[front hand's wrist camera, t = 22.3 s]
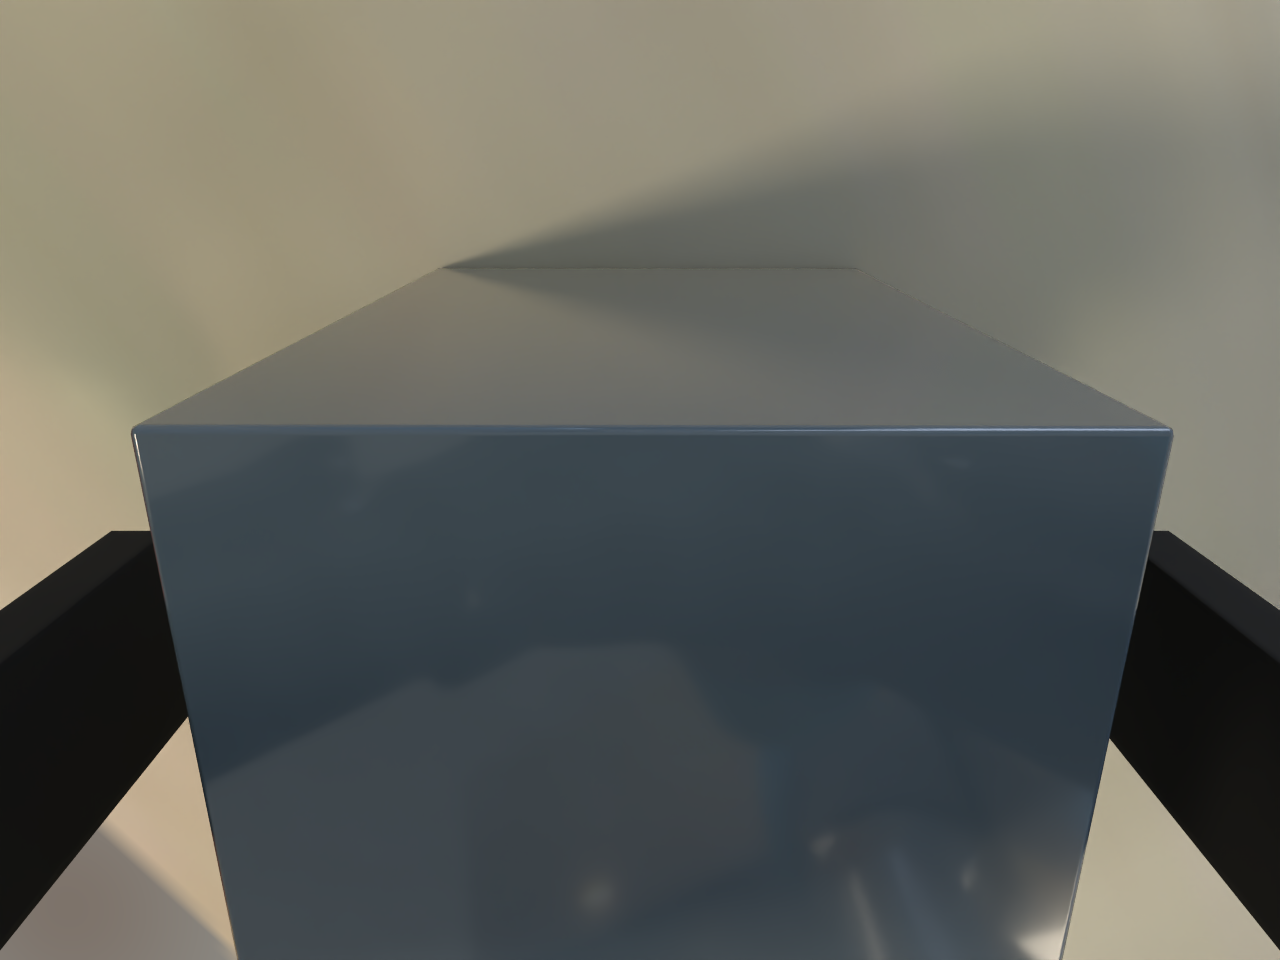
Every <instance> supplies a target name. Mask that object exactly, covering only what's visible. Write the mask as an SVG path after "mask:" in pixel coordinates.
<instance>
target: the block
mask: <svg viewBox="0 0 1280 960" xmlns="http://www.w3.org/2000/svg"><path fill="white" fill-rule="evenodd" d="M131 437H132V442H133V447H134V452H135V457H136V462H137V467H138V472H139V477H140V482H141V487H142V491H143V496H144V501H145V506H146V511H147V516H148V521H149V526H150V531H151V536H152V541H153V546H154V551H155V556H156V560H157V565H158V570H159V575H160V580H161V585H162V590H163V595H164V600H165V605H166V610H167V615H168V620H169V625H170V629H171V634H172V639H173V644H174V649H175V654H176V659H177V664H178V669H179V674H180V679H181V684H182V689H183V693H184V698H185V703H186V708H187V713H188V718H189V723H190V728H191V733H192V738H193V743H194V748H195V753H196V758H197V762H198V767H199V772H200V777H201V782H202V787H203V792H204V797H205V802H206V807H207V812H208V817H209V822H210V826H211V831H212V836H213V841H214V846H215V851H216V856H217V861H218V866H219V871H220V876H221V881H222V886H223V891H224V895H225V900H226V905H227V910H228V915H229V920H230V925H231V930H232V935H233V940H234V945H235V950H236V955H237V960H1062V958H1063V953H1064V949H1065V944H1066V939H1067V935H1068V930H1069V925H1070V920H1071V916H1072V911H1073V906H1074V902H1075V897H1076V892H1077V888H1078V883H1079V878H1080V874H1081V869H1082V864H1083V859H1084V855H1085V850H1086V845H1087V841H1088V836H1089V831H1090V827H1091V822H1092V817H1093V812H1094V808H1095V803H1096V798H1097V794H1098V789H1099V784H1100V780H1101V775H1102V770H1103V765H1104V761H1105V756H1106V751H1107V747H1108V742H1109V737H1110V733H1111V728H1112V723H1113V719H1114V714H1115V709H1116V704H1117V700H1118V695H1119V690H1120V686H1121V681H1122V676H1123V672H1124V667H1125V662H1126V657H1127V653H1128V648H1129V643H1130V639H1131V634H1132V629H1133V625H1134V620H1135V615H1136V610H1137V606H1138V601H1139V596H1140V592H1141V587H1142V582H1143V578H1144V573H1145V568H1146V563H1147V559H1148V554H1149V549H1150V545H1151V540H1152V535H1153V531H1154V526H1155V521H1156V517H1157V512H1158V507H1159V502H1160V498H1161V493H1162V488H1163V484H1164V479H1165V474H1166V470H1167V465H1168V460H1169V455H1170V451H1171V446H1172V441H1173V437H1174V435H1173V430H1172V428H1170V427H1168V426H1166V425H1164V424H1162V423H1160V422H1158V421H1156V420H1154V419H1153V418H1151V417H1149V416H1147V415H1145V414H1143V413H1141V412H1139V411H1137V410H1135V409H1133V408H1131V407H1129V406H1127V405H1125V404H1123V403H1121V402H1119V401H1117V400H1115V399H1113V398H1111V397H1109V396H1107V395H1105V394H1103V393H1101V392H1099V391H1097V390H1095V389H1093V388H1091V387H1089V386H1087V385H1085V384H1083V383H1081V382H1079V381H1077V380H1075V379H1074V378H1072V377H1070V376H1068V375H1066V374H1064V373H1062V372H1060V371H1058V370H1056V369H1054V368H1052V367H1050V366H1048V365H1046V364H1044V363H1042V362H1040V361H1038V360H1036V359H1034V358H1032V357H1030V356H1028V355H1026V354H1024V353H1022V352H1020V351H1018V350H1016V349H1014V348H1012V347H1010V346H1008V345H1006V344H1004V343H1002V342H1000V341H998V340H996V339H995V338H993V337H991V336H989V335H987V334H985V333H983V332H981V331H979V330H977V329H975V328H973V327H971V326H969V325H967V324H965V323H963V322H961V321H959V320H957V319H955V318H953V317H951V316H949V315H947V314H945V313H943V312H941V311H939V310H937V309H935V308H933V307H931V306H929V305H927V304H925V303H923V302H921V301H919V300H917V299H915V298H914V297H912V296H910V295H908V294H906V293H904V292H902V291H900V290H898V289H896V288H894V287H892V286H890V285H888V284H886V283H884V282H882V281H880V280H878V279H876V278H874V277H872V276H870V275H868V274H866V273H864V272H862V271H860V270H858V269H856V268H438V269H436V270H434V271H432V272H430V273H428V274H426V275H424V276H423V277H421V278H419V279H417V280H415V281H413V282H411V283H409V284H407V285H405V286H403V287H401V288H399V289H397V290H396V291H394V292H392V293H390V294H388V295H386V296H384V297H382V298H380V299H378V300H376V301H374V302H372V303H370V304H369V305H367V306H365V307H363V308H361V309H359V310H357V311H355V312H353V313H351V314H349V315H347V316H345V317H344V318H342V319H340V320H338V321H336V322H334V323H332V324H330V325H328V326H326V327H324V328H322V329H320V330H318V331H317V332H315V333H313V334H311V335H309V336H307V337H305V338H303V339H301V340H299V341H297V342H295V343H293V344H291V345H290V346H288V347H286V348H284V349H282V350H280V351H278V352H276V353H274V354H272V355H270V356H268V357H266V358H264V359H263V360H261V361H259V362H257V363H255V364H253V365H251V366H249V367H247V368H245V369H243V370H241V371H239V372H238V373H236V374H234V375H232V376H230V377H228V378H226V379H224V380H222V381H220V382H218V383H216V384H214V385H212V386H211V387H209V388H207V389H205V390H203V391H201V392H199V393H197V394H195V395H193V396H191V397H189V398H187V399H185V400H184V401H182V402H180V403H178V404H176V405H174V406H172V407H170V408H168V409H166V410H164V411H162V412H160V413H159V414H157V415H155V416H153V417H151V418H149V419H147V420H145V421H143V422H141V423H139V424H137V425H135V426H133V428H132V431H131Z"/></svg>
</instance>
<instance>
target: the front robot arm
mask: <svg viewBox="0 0 1280 960" xmlns="http://www.w3.org/2000/svg"><path fill="white" fill-rule="evenodd" d="M187 717H188V713H187V708H186V703H185V698H184V693H183V689H182V684H181V679H180V674H179V669H178V664H177V659H176V654H175V649H174V644H173V639H172V634H171V629H170V625H169V620H168V615H167V610H166V605H165V600H164V595H163V590H162V585H161V580H160V575H159V570H158V565H157V560H156V556H155V551H154V546H153V541H152V536H151V531H111V532H109V533H108V534H107V535H105V536H104V537H102V538H101V539H100V540H98V541H97V542H95V543H94V544H93V545H91V546H90V547H88V548H87V549H86V550H84V551H83V552H81V553H80V554H79V555H77V556H76V557H74V558H73V559H72V560H70V561H69V562H67V563H66V564H65V565H63V566H62V567H60V568H59V569H58V570H56V571H55V572H53V573H52V574H51V575H49V576H48V577H46V578H45V579H44V580H42V581H41V582H39V583H38V584H37V585H35V586H34V587H32V588H31V589H30V590H28V591H27V592H25V593H24V594H23V595H21V596H20V597H18V598H17V599H16V600H14V601H13V602H11V603H10V604H9V605H7V606H6V607H4V608H3V609H2V610H0V950H1V949H2V947H3V946H4V945H5V944H6V942H7V941H8V940H9V939H10V937H11V936H12V935H13V934H14V932H15V931H16V930H17V929H18V927H19V926H20V925H21V924H22V922H23V921H24V920H25V919H26V918H27V916H28V915H29V914H30V913H31V911H32V910H33V909H34V908H35V906H36V905H37V904H38V903H39V901H40V900H41V899H42V898H43V896H44V895H45V894H46V893H47V891H48V890H49V889H50V888H51V886H52V885H53V884H54V883H55V881H56V880H57V879H58V878H59V876H60V875H61V874H62V873H63V871H64V870H65V869H66V868H67V866H68V865H69V864H70V863H71V861H72V860H73V859H74V858H75V857H76V855H77V854H78V853H79V852H80V850H81V849H82V848H83V846H84V845H85V844H86V843H87V842H88V840H89V839H90V838H91V837H92V835H93V834H94V833H95V832H96V830H97V829H98V828H99V827H100V825H101V824H102V823H103V822H104V820H105V819H106V818H107V817H108V815H109V814H110V813H111V812H112V810H113V809H114V808H115V807H116V805H117V804H118V803H119V802H120V800H121V799H122V798H123V797H124V795H125V794H126V793H127V792H128V790H129V789H130V788H131V787H132V786H133V784H134V783H135V782H136V781H137V779H138V778H139V777H140V776H141V774H142V773H143V772H144V771H145V769H146V768H147V767H148V766H149V764H150V763H151V762H152V761H153V759H154V758H155V757H156V756H157V754H158V753H159V752H160V751H161V749H162V748H163V747H164V746H165V744H166V743H167V742H168V741H169V739H170V738H171V737H172V736H173V734H174V733H175V732H176V731H177V729H178V728H179V727H180V726H181V724H182V723H183V722H184V721H185V720H186V718H187ZM1109 738H1110V739H1111V741H1112V742H1113V743H1114V744H1115V746H1116V747H1117V748H1118V749H1119V751H1120V752H1121V753H1122V754H1123V756H1124V757H1125V758H1126V759H1127V761H1128V762H1129V763H1130V764H1131V766H1132V767H1133V768H1134V769H1135V771H1136V772H1137V773H1138V774H1139V776H1140V777H1141V778H1142V779H1143V781H1144V782H1145V783H1146V784H1147V786H1148V787H1149V788H1150V789H1151V790H1152V792H1153V793H1154V794H1155V795H1156V797H1157V798H1158V799H1159V800H1160V802H1161V803H1162V804H1163V805H1164V807H1165V808H1166V809H1167V810H1168V812H1169V813H1170V814H1171V815H1172V817H1173V818H1174V819H1175V820H1176V822H1177V823H1178V824H1179V825H1180V827H1181V828H1182V829H1183V830H1184V832H1185V833H1186V834H1187V835H1188V837H1189V838H1190V839H1191V840H1192V842H1193V843H1194V844H1195V845H1196V847H1197V848H1198V849H1199V850H1200V852H1201V853H1202V854H1203V855H1204V857H1205V858H1206V859H1207V860H1208V861H1209V863H1210V864H1211V865H1212V866H1213V868H1214V869H1215V870H1216V871H1217V873H1218V874H1219V875H1220V876H1221V878H1222V879H1223V880H1224V881H1225V883H1226V884H1227V885H1228V886H1229V888H1230V889H1231V890H1232V891H1233V893H1234V894H1235V895H1236V896H1237V898H1238V899H1239V900H1240V901H1241V903H1242V904H1243V905H1244V906H1245V908H1246V909H1247V910H1248V911H1249V913H1250V914H1251V915H1252V916H1253V918H1254V919H1255V920H1256V921H1257V923H1258V924H1259V925H1260V926H1261V928H1262V929H1263V930H1264V931H1265V932H1266V934H1267V935H1268V936H1269V937H1270V939H1271V940H1272V941H1273V942H1274V944H1275V945H1276V946H1277V947H1278V949H1279V950H1280V610H1278V609H1277V608H1276V607H1274V606H1273V605H1271V604H1270V603H1269V602H1267V601H1266V600H1264V599H1263V598H1262V597H1260V596H1259V595H1257V594H1256V593H1255V592H1253V591H1252V590H1250V589H1249V588H1248V587H1246V586H1245V585H1243V584H1242V583H1241V582H1239V581H1238V580H1236V579H1235V578H1234V577H1232V576H1231V575H1229V574H1228V573H1227V572H1225V571H1224V570H1222V569H1221V568H1220V567H1218V566H1217V565H1215V564H1214V563H1213V562H1211V561H1210V560H1208V559H1207V558H1206V557H1204V556H1203V555H1201V554H1200V553H1199V552H1197V551H1196V550H1194V549H1193V548H1192V547H1190V546H1189V545H1187V544H1186V543H1185V542H1183V541H1182V540H1180V539H1179V538H1178V537H1176V536H1175V535H1173V534H1172V533H1171V532H1169V531H1153V535H1152V540H1151V545H1150V549H1149V554H1148V559H1147V563H1146V568H1145V573H1144V578H1143V582H1142V587H1141V592H1140V596H1139V601H1138V606H1137V610H1136V615H1135V620H1134V625H1133V629H1132V634H1131V639H1130V643H1129V648H1128V653H1127V657H1126V662H1125V667H1124V672H1123V676H1122V681H1121V686H1120V690H1119V695H1118V700H1117V704H1116V709H1115V714H1114V719H1113V723H1112V728H1111V733H1110V737H1109Z"/></svg>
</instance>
